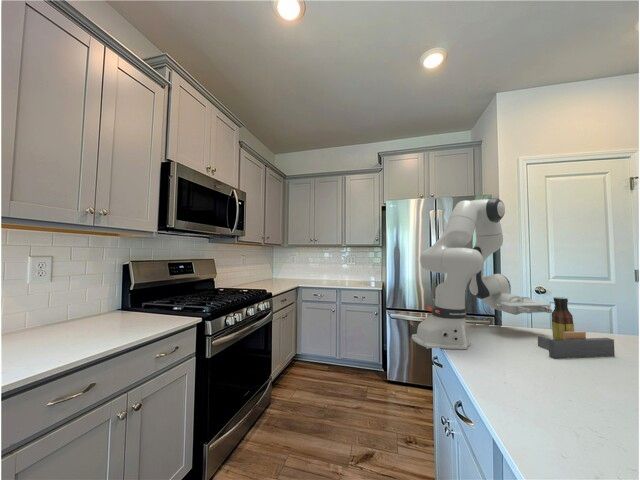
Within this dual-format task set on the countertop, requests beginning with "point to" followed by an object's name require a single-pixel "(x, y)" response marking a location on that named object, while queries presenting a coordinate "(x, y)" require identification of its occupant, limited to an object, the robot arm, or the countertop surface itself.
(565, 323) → the sauce bottle
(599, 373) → the countertop surface
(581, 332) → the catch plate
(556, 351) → the grey base block
